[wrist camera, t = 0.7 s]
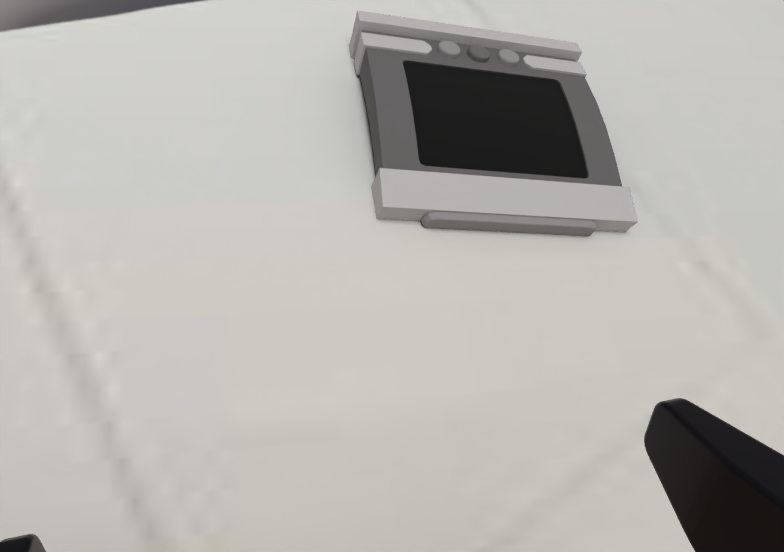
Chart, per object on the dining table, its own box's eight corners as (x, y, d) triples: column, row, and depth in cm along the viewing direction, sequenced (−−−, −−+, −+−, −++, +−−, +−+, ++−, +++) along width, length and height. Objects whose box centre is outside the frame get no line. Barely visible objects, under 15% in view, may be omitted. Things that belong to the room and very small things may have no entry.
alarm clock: (576, 42, 50) (664, 196, 40) (550, 93, 53) (625, 245, 43) (357, 10, 45) (396, 176, 35) (344, 68, 48) (376, 234, 38)
